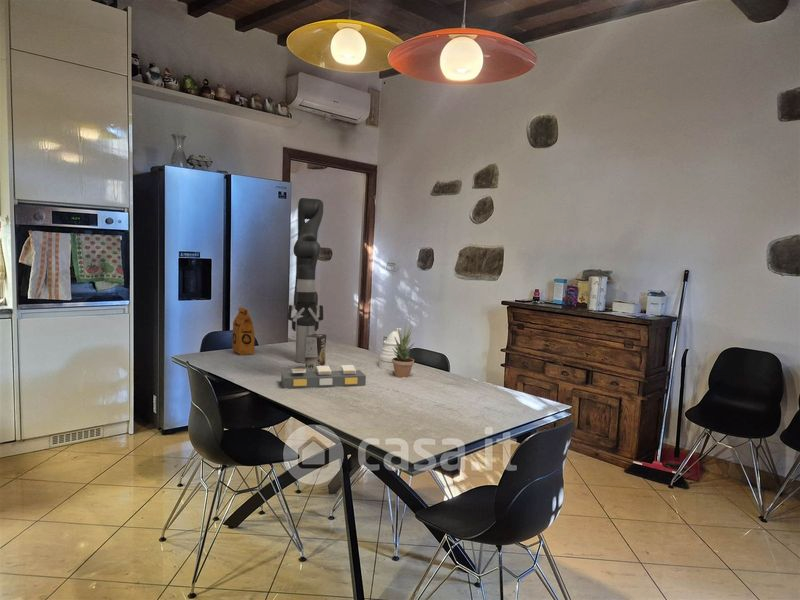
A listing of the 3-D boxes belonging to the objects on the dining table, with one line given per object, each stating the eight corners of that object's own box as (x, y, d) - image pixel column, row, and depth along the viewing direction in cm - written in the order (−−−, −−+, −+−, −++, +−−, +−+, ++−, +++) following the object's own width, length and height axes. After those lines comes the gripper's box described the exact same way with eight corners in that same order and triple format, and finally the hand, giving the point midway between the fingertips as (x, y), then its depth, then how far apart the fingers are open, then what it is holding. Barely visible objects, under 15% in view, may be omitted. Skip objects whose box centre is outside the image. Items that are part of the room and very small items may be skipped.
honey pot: (402, 363, 268) (404, 326, 266) (410, 369, 255) (412, 330, 254) (376, 364, 264) (377, 326, 262) (382, 370, 252) (384, 330, 250)
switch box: (281, 382, 224) (281, 372, 223) (359, 379, 233) (359, 370, 233) (284, 389, 214) (284, 378, 213) (365, 386, 223) (366, 376, 223)
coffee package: (236, 356, 268) (236, 310, 266) (230, 351, 279) (231, 306, 276) (256, 354, 273) (257, 309, 270) (250, 349, 283) (251, 306, 281)
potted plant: (415, 378, 240) (418, 321, 237) (394, 378, 237) (396, 320, 235) (409, 372, 249) (412, 317, 247) (388, 373, 247) (391, 317, 244)
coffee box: (318, 375, 238) (319, 337, 236) (304, 373, 239) (305, 336, 237) (325, 370, 246) (326, 334, 245) (311, 369, 248) (312, 333, 246)
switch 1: (290, 372, 222) (290, 368, 222) (303, 371, 224) (303, 368, 224) (293, 373, 216) (293, 369, 216) (306, 372, 218) (306, 369, 218)
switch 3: (340, 368, 228) (340, 364, 228) (352, 367, 230) (353, 364, 230) (343, 374, 223) (344, 371, 222) (356, 373, 224) (356, 370, 224)
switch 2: (316, 368, 225) (316, 365, 225) (328, 368, 227) (328, 365, 226) (318, 375, 220) (318, 371, 219) (331, 374, 221) (331, 371, 221)
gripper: (322, 290, 232) (320, 329, 233) (287, 289, 228) (286, 329, 229) (325, 291, 225) (324, 331, 226) (289, 290, 221) (288, 332, 222)
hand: (305, 330), depth 227 cm, fingers open, 8 cm apart
